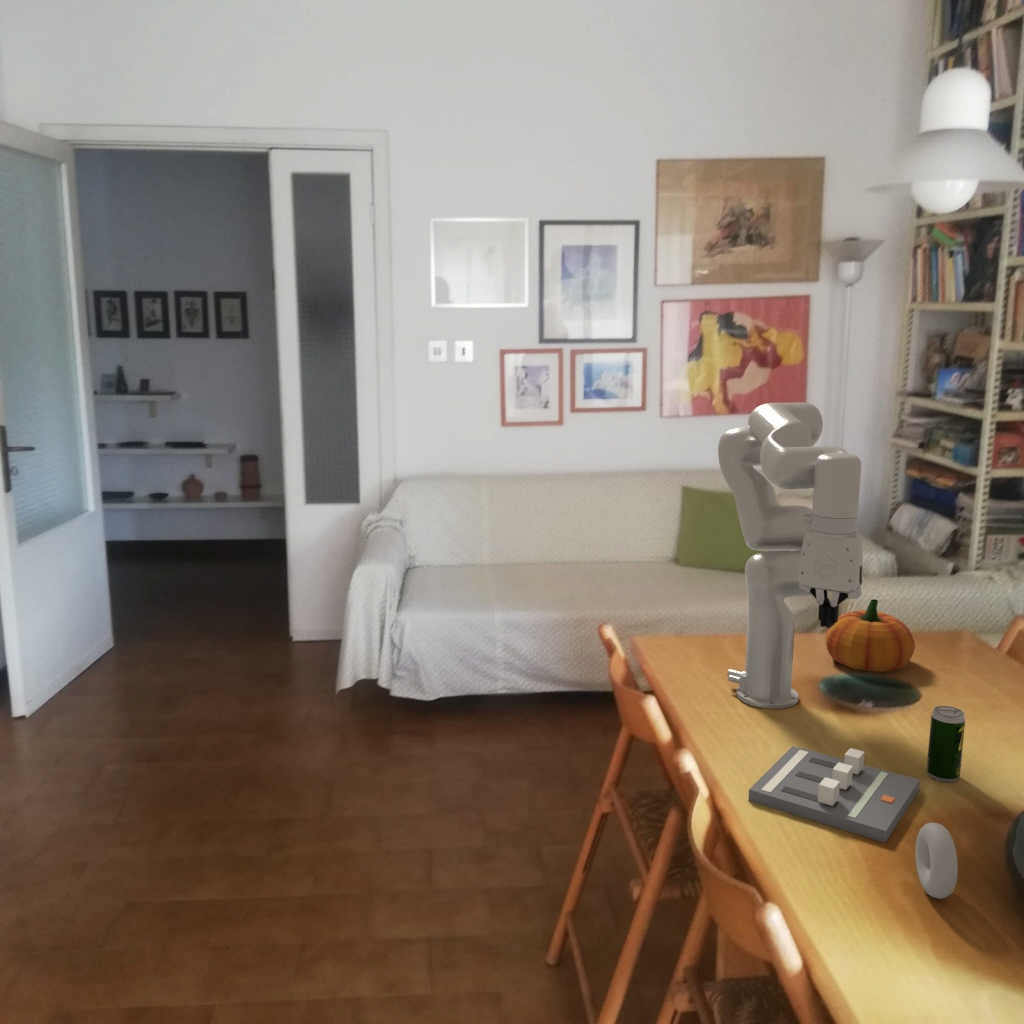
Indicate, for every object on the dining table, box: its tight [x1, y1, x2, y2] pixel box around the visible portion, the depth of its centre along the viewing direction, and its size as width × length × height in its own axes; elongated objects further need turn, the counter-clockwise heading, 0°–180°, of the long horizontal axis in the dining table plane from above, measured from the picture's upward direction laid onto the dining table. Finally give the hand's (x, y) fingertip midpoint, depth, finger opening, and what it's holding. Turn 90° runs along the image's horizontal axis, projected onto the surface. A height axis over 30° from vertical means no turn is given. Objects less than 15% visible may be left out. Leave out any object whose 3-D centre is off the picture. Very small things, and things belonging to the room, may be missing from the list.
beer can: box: [926, 705, 966, 783], centre depth 164 cm, size 5×5×12 cm
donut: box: [914, 822, 959, 900], centre depth 131 cm, size 10×4×10 cm, turn 173°
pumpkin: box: [825, 598, 916, 673], centre depth 217 cm, size 19×19×15 cm
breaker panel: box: [748, 745, 921, 844], centre depth 158 cm, size 22×20×5 cm
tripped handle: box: [832, 762, 853, 790], centre depth 157 cm, size 2×3×3 cm
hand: (827, 625), depth 168 cm, fingers closed
